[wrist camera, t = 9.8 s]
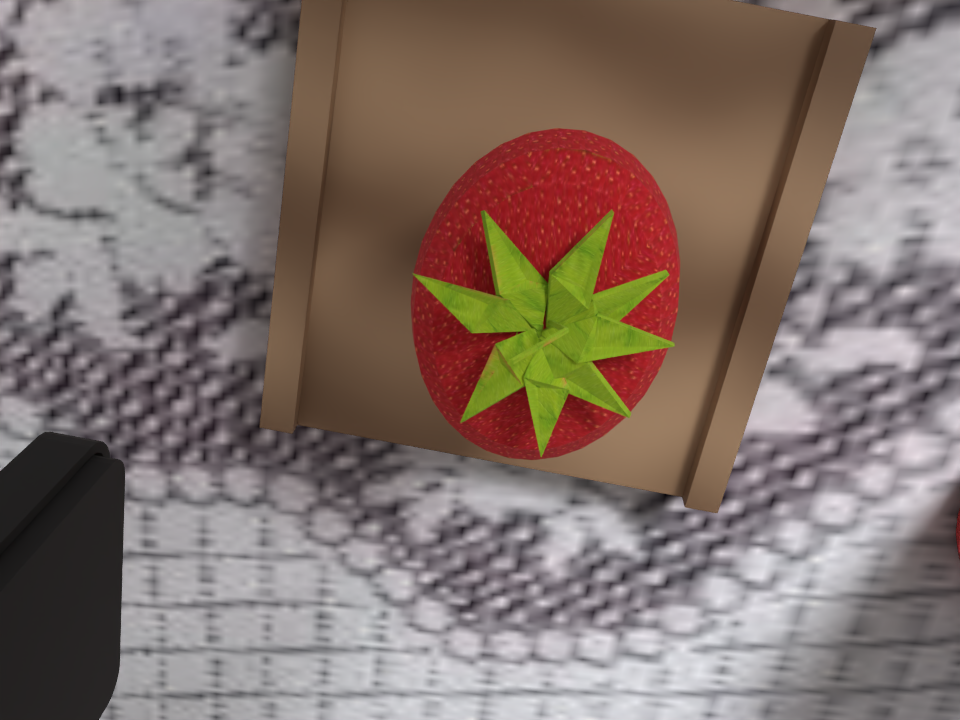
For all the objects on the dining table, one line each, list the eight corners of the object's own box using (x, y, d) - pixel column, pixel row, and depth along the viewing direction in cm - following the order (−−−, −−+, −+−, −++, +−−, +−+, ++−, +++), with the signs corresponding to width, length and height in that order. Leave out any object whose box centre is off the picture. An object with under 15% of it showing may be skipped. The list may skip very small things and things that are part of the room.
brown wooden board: (331, -77, 25) (309, -84, 22) (843, 24, 25) (876, 28, 22) (281, 391, 30) (259, 427, 27) (703, 471, 30) (717, 513, 28)
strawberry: (409, 340, 27) (354, 530, 17) (459, 75, 24) (424, 136, 15) (607, 380, 27) (656, 588, 18) (680, 123, 24) (782, 212, 15)
